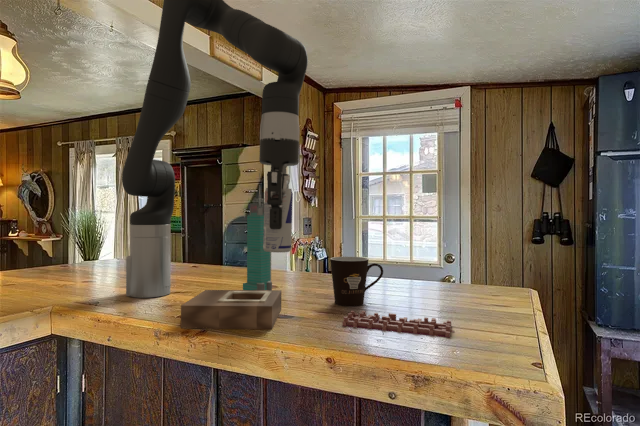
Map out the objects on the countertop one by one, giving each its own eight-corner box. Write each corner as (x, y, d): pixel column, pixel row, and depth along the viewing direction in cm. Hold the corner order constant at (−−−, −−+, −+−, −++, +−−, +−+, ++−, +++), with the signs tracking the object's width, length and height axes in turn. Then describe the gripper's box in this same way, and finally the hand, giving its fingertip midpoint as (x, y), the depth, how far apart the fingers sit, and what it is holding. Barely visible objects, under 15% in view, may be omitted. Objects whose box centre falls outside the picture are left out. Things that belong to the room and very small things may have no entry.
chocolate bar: (453, 341, 65) (453, 329, 65) (342, 329, 72) (342, 318, 72) (455, 329, 72) (455, 318, 72) (353, 319, 78) (353, 309, 78)
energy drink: (294, 250, 78) (296, 189, 78) (285, 253, 73) (287, 188, 73) (269, 248, 80) (271, 189, 80) (258, 251, 75) (260, 187, 74)
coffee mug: (326, 306, 86) (326, 260, 86) (334, 298, 95) (334, 256, 95) (380, 309, 84) (380, 262, 84) (383, 300, 92) (383, 257, 92)
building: (276, 294, 99) (277, 173, 99) (261, 299, 93) (261, 171, 93) (258, 291, 102) (258, 174, 102) (241, 296, 97) (242, 172, 97)
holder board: (181, 328, 70) (181, 303, 70) (205, 308, 84) (205, 288, 84) (271, 329, 70) (272, 304, 69) (281, 309, 84) (281, 288, 83)
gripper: (265, 145, 83) (263, 225, 84) (253, 132, 69) (251, 229, 69) (301, 145, 83) (299, 226, 84) (296, 133, 69) (294, 231, 69)
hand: (277, 227), depth 76 cm, fingers closed on energy drink, 5 cm apart
